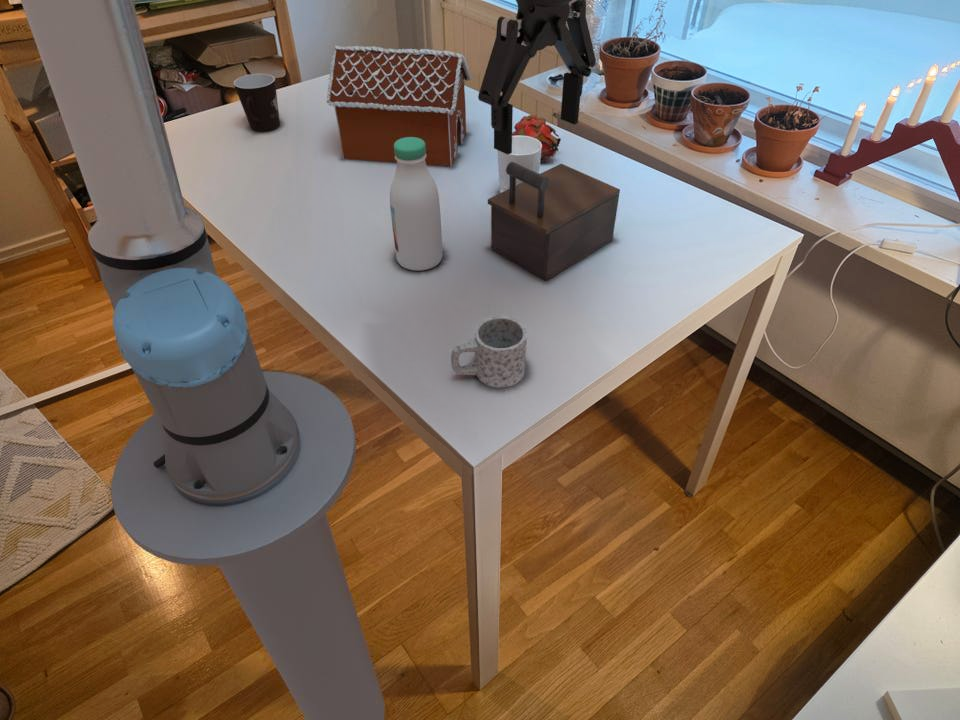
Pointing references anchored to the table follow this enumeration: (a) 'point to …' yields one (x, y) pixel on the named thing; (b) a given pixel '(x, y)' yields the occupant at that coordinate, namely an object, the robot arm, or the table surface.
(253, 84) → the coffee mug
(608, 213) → the chest
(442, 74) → the gingerbread house
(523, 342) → the mug
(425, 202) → the milk bottle
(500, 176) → the white cup
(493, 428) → the table surface
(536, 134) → the dragon fruit
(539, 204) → the lid
